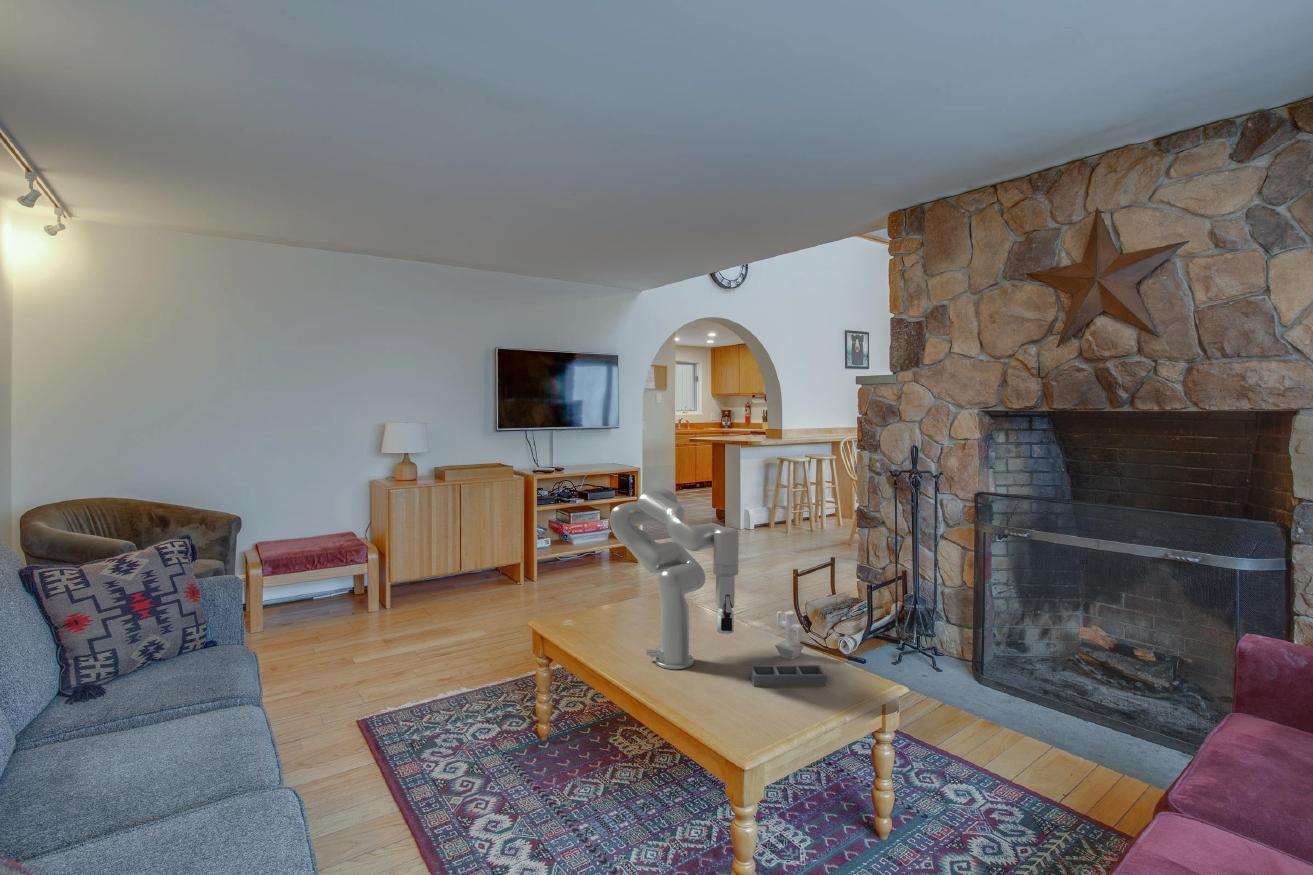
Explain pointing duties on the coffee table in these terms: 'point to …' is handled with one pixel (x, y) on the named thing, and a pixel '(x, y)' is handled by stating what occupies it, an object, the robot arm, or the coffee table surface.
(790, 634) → the figurine
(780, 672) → the grey compartment tray
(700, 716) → the coffee table surface
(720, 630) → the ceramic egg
